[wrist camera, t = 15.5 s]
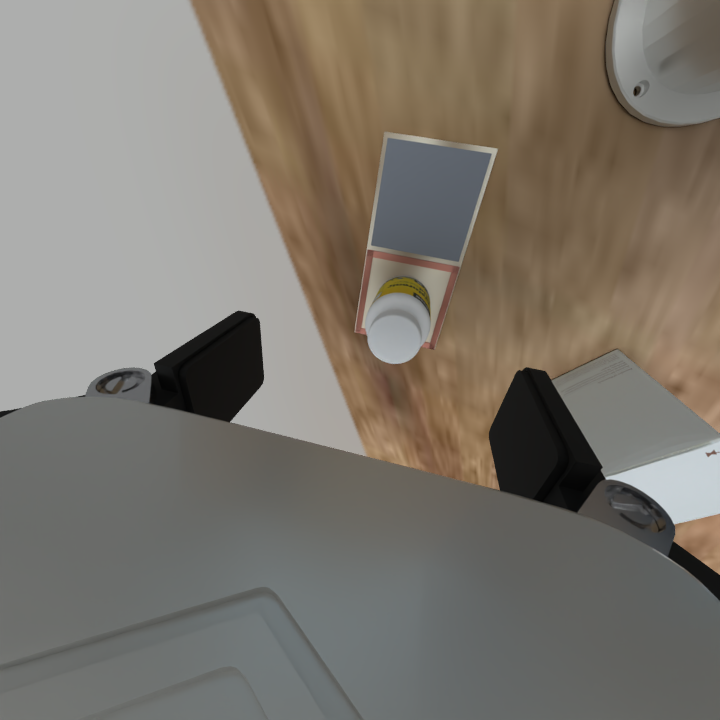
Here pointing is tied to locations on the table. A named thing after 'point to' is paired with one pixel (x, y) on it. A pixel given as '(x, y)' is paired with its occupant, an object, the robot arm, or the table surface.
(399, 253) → the stamping board
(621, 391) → the supplement box
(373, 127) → the table surface
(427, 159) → the ink pad
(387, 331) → the supplement bottle
